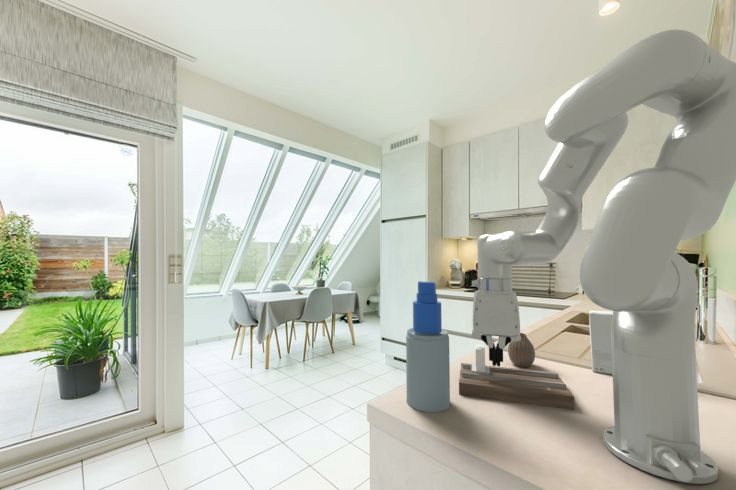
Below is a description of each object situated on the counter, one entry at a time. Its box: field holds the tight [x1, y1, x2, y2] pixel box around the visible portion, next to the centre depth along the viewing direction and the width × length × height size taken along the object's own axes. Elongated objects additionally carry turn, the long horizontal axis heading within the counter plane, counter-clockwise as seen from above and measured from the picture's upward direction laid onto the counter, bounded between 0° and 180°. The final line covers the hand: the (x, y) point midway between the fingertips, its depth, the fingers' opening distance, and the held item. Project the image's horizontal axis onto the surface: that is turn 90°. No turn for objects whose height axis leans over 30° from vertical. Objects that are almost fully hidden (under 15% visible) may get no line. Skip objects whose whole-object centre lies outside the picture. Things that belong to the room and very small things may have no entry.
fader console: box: [458, 362, 576, 411], centre depth 71 cm, size 14×22×4 cm, turn 71°
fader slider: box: [471, 343, 490, 375], centre depth 74 cm, size 5×4×6 cm
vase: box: [507, 332, 536, 368], centre depth 88 cm, size 7×7×9 cm
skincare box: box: [588, 309, 613, 376], centre depth 84 cm, size 8×7×16 cm
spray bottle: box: [405, 280, 451, 413], centre depth 65 cm, size 9×9×25 cm
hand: (496, 364), depth 73 cm, fingers closed
